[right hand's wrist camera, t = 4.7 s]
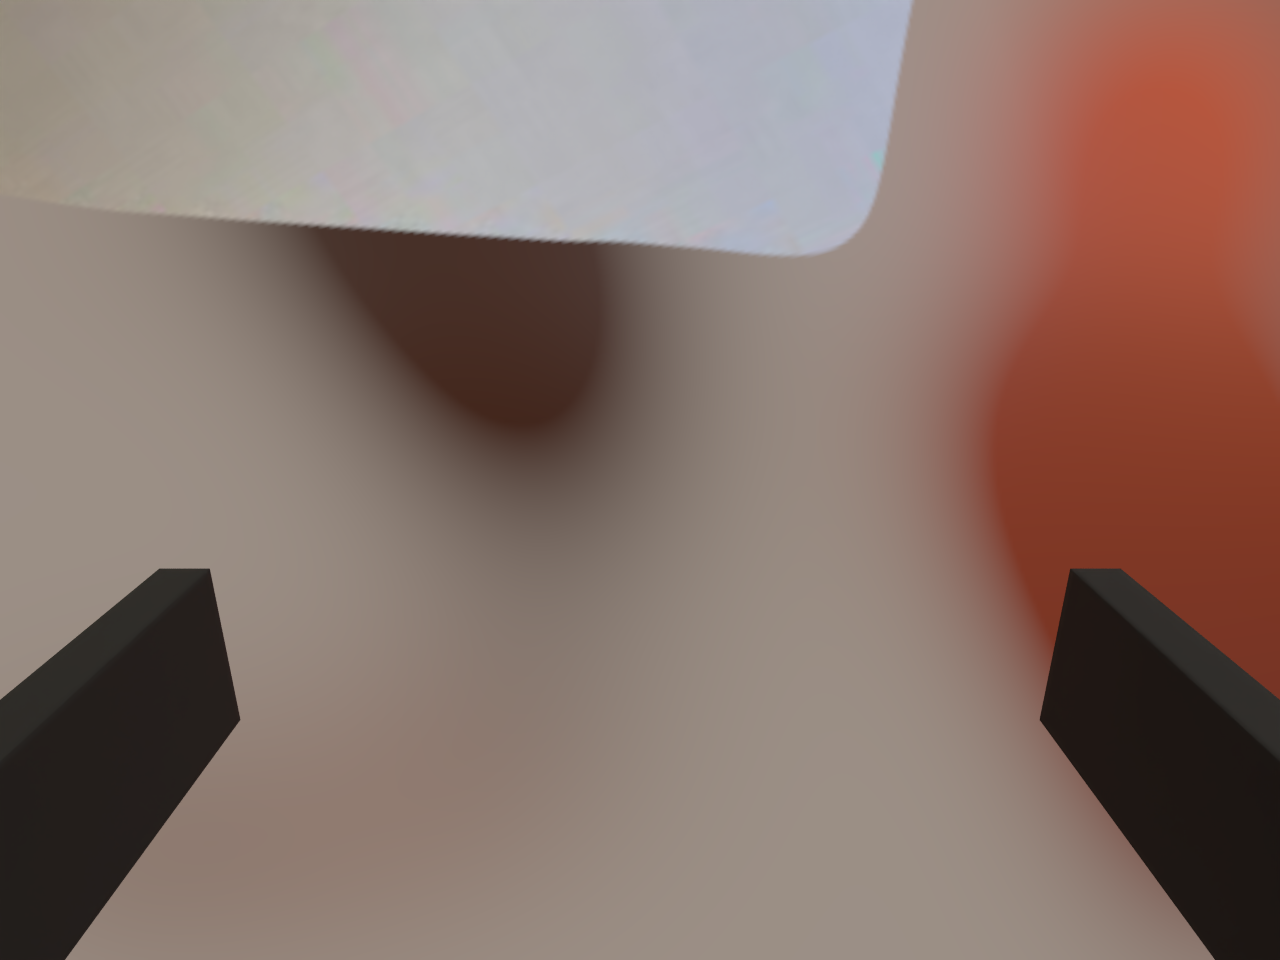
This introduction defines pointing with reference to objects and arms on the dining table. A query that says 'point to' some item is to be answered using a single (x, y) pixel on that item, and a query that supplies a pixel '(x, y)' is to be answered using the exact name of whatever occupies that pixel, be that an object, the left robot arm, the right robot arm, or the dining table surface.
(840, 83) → the dining table surface
